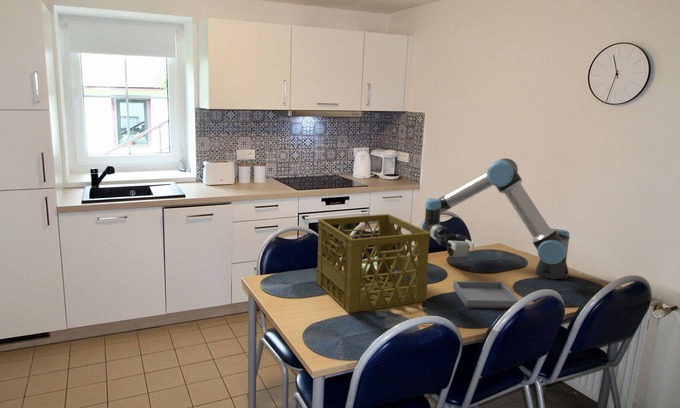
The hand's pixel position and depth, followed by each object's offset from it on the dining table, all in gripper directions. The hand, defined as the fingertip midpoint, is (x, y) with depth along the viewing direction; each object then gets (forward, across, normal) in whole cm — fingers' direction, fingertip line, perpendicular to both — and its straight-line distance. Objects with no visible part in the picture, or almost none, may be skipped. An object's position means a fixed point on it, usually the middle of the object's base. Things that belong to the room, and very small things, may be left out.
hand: (464, 246), depth 231 cm
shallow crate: (+17, -1, -18) cm, 25 cm away
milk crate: (+1, +46, -18) cm, 49 cm away
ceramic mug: (-6, 0, -6) cm, 9 cm away
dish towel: (-33, +28, -18) cm, 47 cm away
